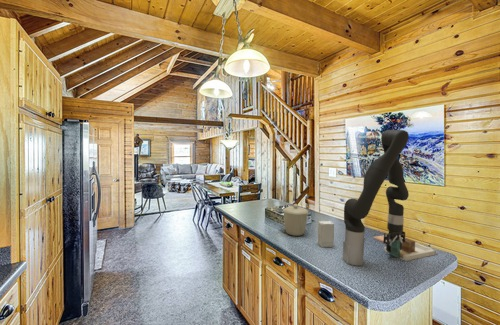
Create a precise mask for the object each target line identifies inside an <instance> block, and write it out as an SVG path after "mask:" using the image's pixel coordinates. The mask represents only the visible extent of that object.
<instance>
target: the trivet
mask: <svg viewBox="0 0 500 325" xmlns="http://www.w3.org/2000/svg"><path fill="white" fill-rule="evenodd" d="M373 239H374V240H376V241H379V242H380V243H383V241H384V234H383V235H377V236H373ZM386 241H387V240H386Z"/></svg>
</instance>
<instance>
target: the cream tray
mask: <svg viewBox="0 0 500 325" xmlns="http://www.w3.org/2000/svg"><path fill="white" fill-rule="evenodd" d="M383 251H384V252H385V253H388V251H387V250H386V246H384V247H383ZM415 251H417V253H412V254H408V255H403V258H401V257H397V258H398V259H400V260H403V261H405V262H408V261H413V260H417V258H418V259H422V258H425V257H431V256H435V255H437V250H436V249H434V248H432V247H428V246H426V245H423V244H420V243H418V242H415Z"/></svg>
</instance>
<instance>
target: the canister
mask: <svg viewBox="0 0 500 325" xmlns="http://www.w3.org/2000/svg"><path fill="white" fill-rule="evenodd" d="M282 212H283V220H284V221H283V222H284V229H285V232H286V233H287V235H290V236H293V237H294V236H295V237H300V236H303V235H304V234H305V232H306V227H307V221H308V220H307V219H308V214H309V210H308V209H306V208H304V207H301V206H299V205H298V204H297V203H294V204H293V205H292V206H287V207H285V208H283V209H282Z"/></svg>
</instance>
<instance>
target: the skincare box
mask: <svg viewBox="0 0 500 325" xmlns="http://www.w3.org/2000/svg"><path fill="white" fill-rule="evenodd" d="M317 223H318V224H317V225H318V227H317V231H318V232H317V244H318V245H319V246H320V248H334V247H335V246H334V245H335V242H334V241H335V223H334V222H333V221H332V220H320V221H319V220H318V222H317Z"/></svg>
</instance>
